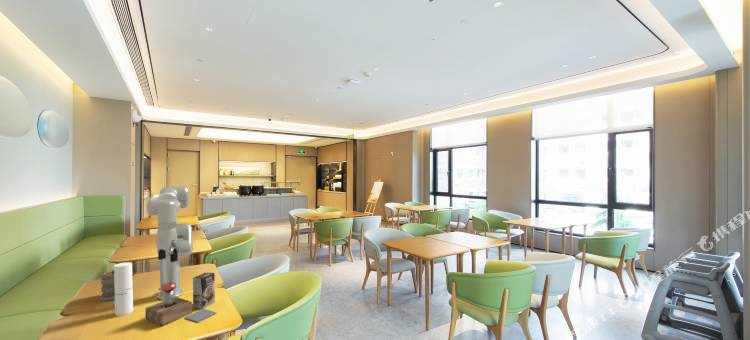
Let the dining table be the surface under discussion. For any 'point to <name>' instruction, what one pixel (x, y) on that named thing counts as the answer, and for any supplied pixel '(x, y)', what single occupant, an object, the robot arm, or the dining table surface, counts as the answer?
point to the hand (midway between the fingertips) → (168, 260)
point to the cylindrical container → (123, 288)
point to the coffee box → (203, 290)
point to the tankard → (108, 286)
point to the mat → (200, 315)
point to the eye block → (168, 311)
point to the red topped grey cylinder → (168, 293)
